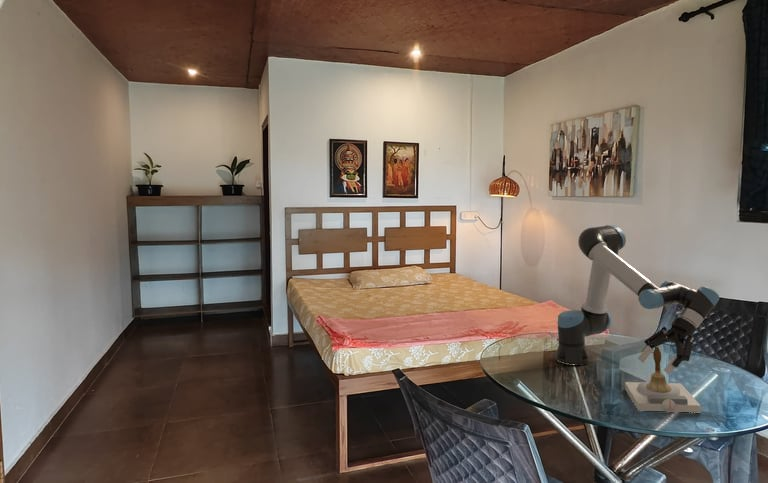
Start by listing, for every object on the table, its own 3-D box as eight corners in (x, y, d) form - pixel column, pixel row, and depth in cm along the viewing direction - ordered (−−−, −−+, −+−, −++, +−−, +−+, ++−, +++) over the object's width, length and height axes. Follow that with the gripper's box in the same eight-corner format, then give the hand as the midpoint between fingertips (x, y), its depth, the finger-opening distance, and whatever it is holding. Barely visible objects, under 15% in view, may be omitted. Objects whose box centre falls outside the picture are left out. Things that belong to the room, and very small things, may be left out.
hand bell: (665, 394, 176) (664, 352, 175) (642, 388, 183) (640, 347, 181) (675, 388, 181) (674, 346, 180) (652, 382, 188) (651, 342, 186)
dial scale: (638, 411, 173) (637, 398, 172) (625, 389, 193) (624, 377, 192) (701, 414, 168) (700, 400, 167) (681, 390, 187) (680, 378, 187)
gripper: (721, 337, 171) (685, 384, 169) (668, 321, 195) (636, 361, 194) (708, 324, 169) (671, 371, 168) (656, 309, 194) (624, 350, 192)
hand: (652, 366), depth 181 cm, fingers open, 13 cm apart
